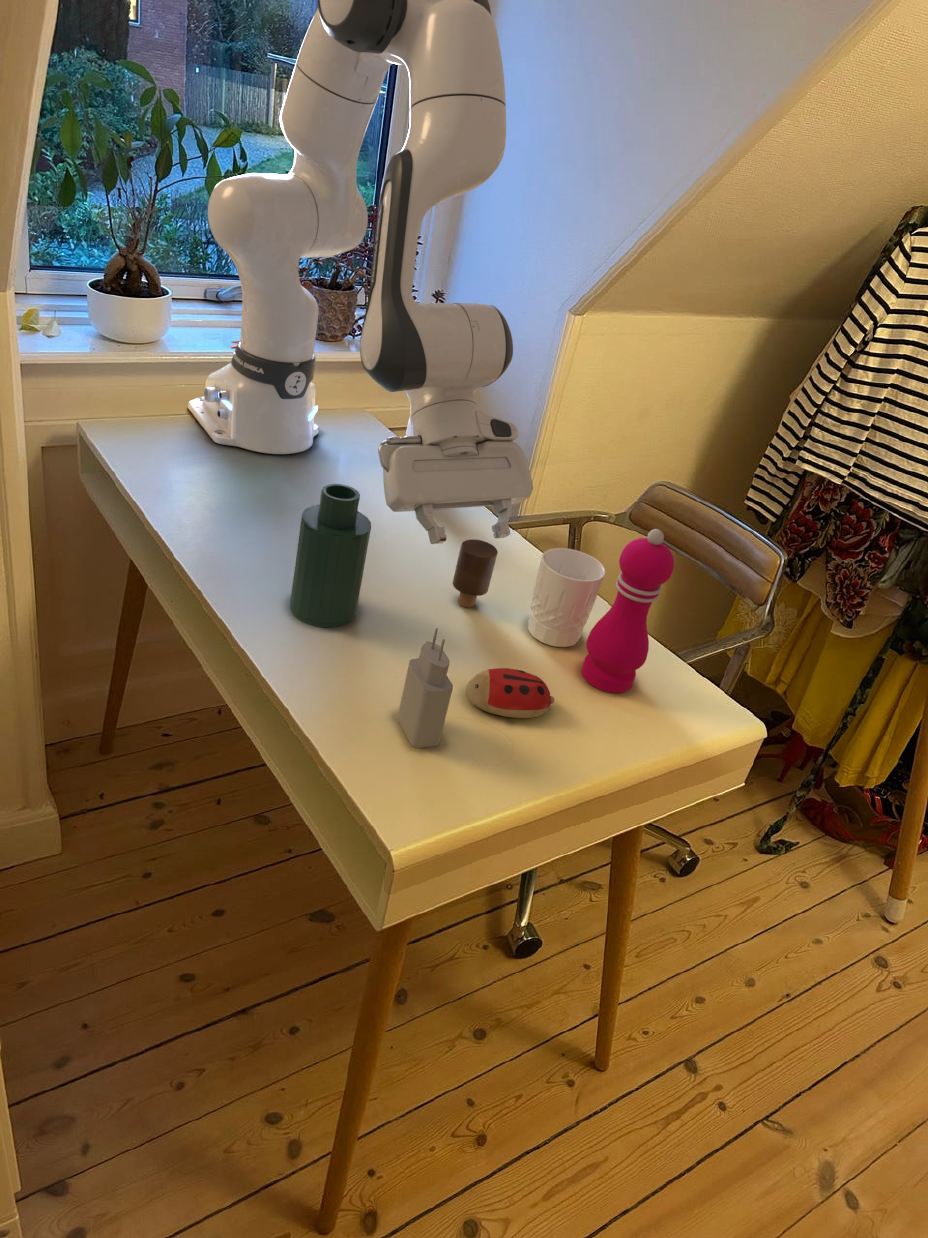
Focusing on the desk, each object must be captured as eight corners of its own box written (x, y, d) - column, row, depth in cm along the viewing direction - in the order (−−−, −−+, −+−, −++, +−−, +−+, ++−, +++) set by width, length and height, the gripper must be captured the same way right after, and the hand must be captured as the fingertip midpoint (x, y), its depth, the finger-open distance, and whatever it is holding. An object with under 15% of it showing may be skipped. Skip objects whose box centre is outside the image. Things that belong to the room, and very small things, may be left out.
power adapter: (422, 712, 102) (444, 617, 96) (441, 745, 98) (465, 648, 92) (395, 714, 101) (415, 618, 95) (413, 748, 97) (435, 650, 91)
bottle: (277, 600, 115) (291, 481, 107) (331, 586, 120) (348, 472, 112) (314, 633, 111) (332, 513, 103) (368, 618, 116) (389, 502, 108)
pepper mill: (634, 703, 112) (690, 553, 102) (574, 685, 113) (623, 534, 102) (637, 670, 118) (690, 525, 108) (580, 653, 119) (627, 508, 108)
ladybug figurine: (461, 680, 109) (467, 654, 107) (545, 690, 111) (553, 664, 109) (466, 717, 103) (473, 690, 101) (555, 727, 105) (564, 701, 103)
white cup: (512, 616, 123) (531, 548, 118) (565, 614, 126) (585, 547, 121) (539, 652, 117) (560, 582, 112) (594, 648, 120) (617, 580, 115)
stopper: (441, 597, 123) (453, 542, 119) (467, 590, 126) (480, 536, 122) (464, 616, 121) (478, 560, 117) (491, 608, 124) (505, 553, 120)
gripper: (386, 427, 115) (409, 538, 114) (526, 425, 126) (549, 527, 124) (365, 446, 121) (387, 553, 119) (501, 442, 131) (523, 540, 130)
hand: (471, 539), depth 122 cm, fingers open, 8 cm apart
